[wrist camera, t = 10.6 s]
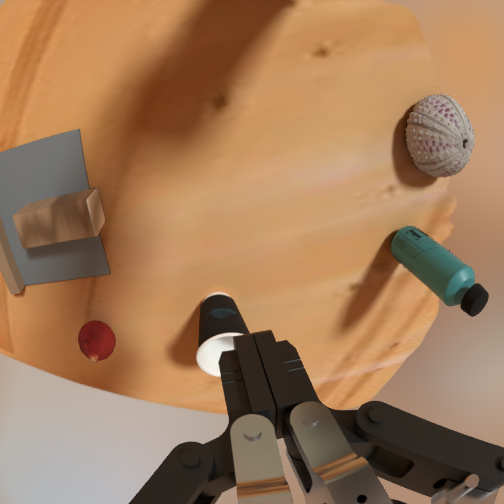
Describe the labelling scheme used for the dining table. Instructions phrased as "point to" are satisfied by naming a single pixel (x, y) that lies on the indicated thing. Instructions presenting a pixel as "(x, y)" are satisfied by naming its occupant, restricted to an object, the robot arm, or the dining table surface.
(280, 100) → the dining table surface
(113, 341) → the onion
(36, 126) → the dining table surface
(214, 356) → the dixie cup
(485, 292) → the beverage bottle
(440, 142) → the sea urchin shell
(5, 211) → the grey flat slab
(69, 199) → the cardboard box
